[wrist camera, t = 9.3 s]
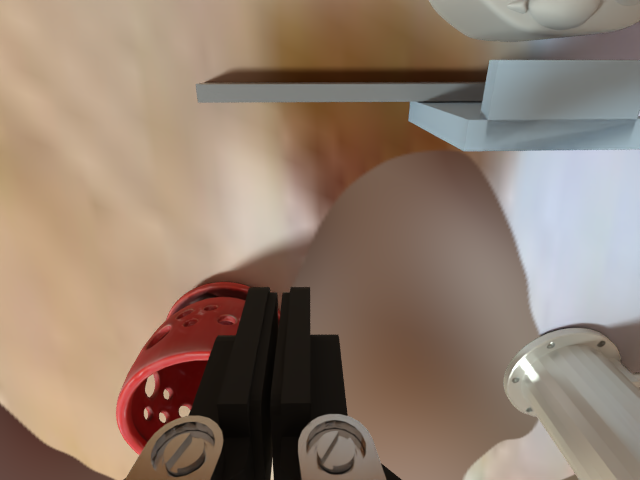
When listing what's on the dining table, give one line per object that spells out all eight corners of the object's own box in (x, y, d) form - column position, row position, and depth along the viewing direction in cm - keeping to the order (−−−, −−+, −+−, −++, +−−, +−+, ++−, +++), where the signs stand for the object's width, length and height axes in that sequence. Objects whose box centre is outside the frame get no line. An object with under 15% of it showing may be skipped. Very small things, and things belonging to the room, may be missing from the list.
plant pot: (258, 387, 42) (243, 499, 31) (145, 339, 39) (85, 447, 28) (322, 305, 38) (331, 402, 27) (202, 242, 34) (157, 325, 24)
